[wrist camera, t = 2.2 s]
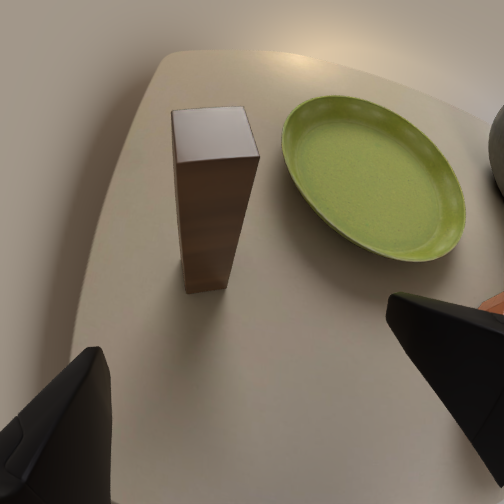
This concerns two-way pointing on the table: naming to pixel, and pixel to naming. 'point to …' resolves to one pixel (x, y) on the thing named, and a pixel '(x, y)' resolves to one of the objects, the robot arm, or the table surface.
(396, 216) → the saucer
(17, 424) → the robot arm
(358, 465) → the table surface
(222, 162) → the block
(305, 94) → the table surface
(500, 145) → the bowl
